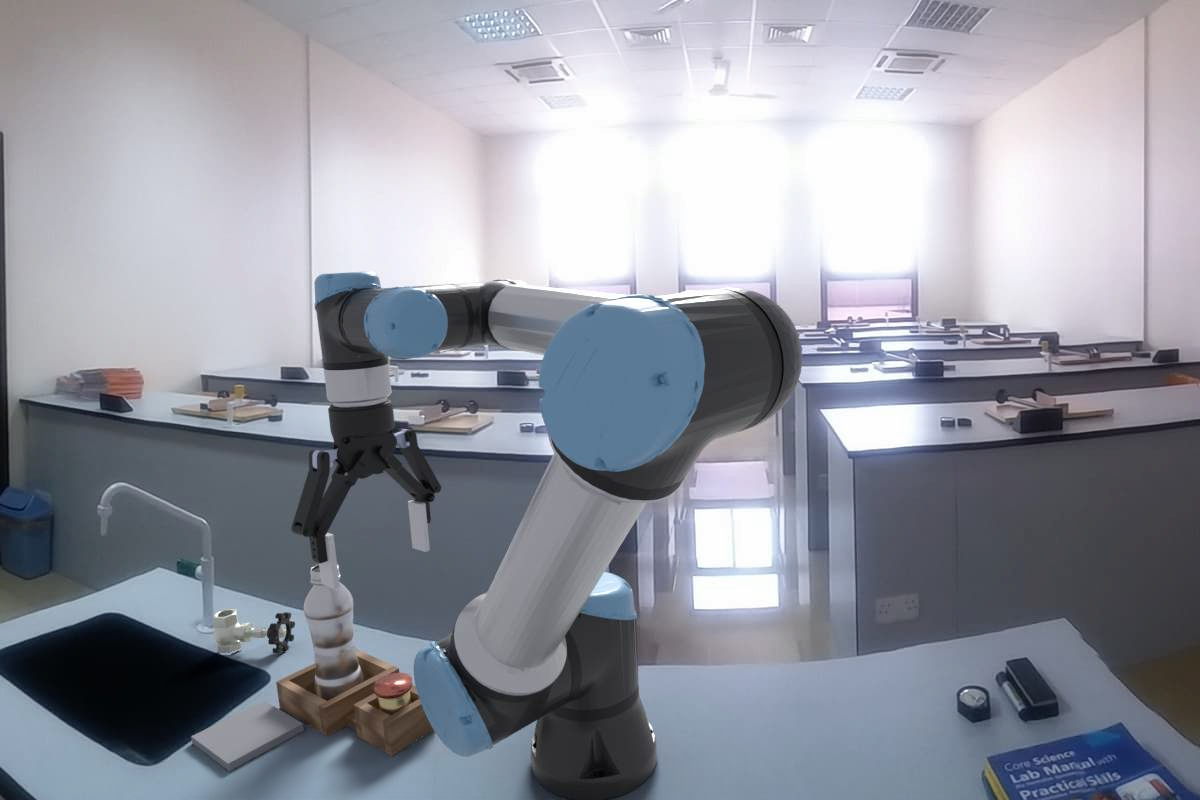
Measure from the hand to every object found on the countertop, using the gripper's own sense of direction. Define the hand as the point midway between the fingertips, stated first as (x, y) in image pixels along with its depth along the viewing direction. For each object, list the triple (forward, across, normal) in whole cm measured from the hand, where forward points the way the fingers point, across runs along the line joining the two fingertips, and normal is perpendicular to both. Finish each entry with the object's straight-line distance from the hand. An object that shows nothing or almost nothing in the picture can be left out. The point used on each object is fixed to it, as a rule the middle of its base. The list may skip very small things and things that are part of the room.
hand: (378, 566), depth 97 cm
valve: (+23, 0, -39) cm, 45 cm away
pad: (+23, +12, -16) cm, 30 cm away
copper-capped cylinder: (+22, 0, 0) cm, 22 cm away
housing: (+23, 0, -7) cm, 24 cm away
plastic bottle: (+23, 0, -12) cm, 26 cm away
